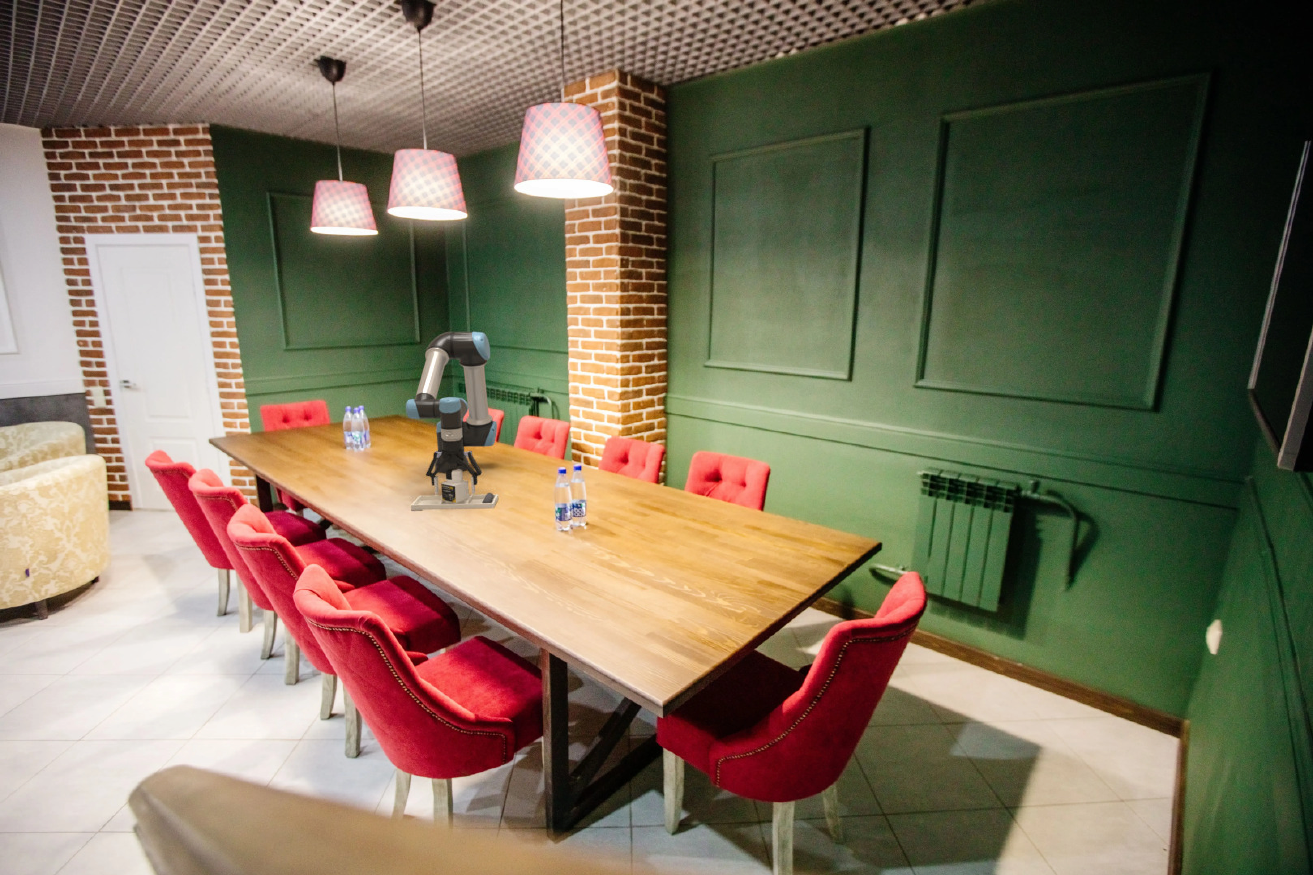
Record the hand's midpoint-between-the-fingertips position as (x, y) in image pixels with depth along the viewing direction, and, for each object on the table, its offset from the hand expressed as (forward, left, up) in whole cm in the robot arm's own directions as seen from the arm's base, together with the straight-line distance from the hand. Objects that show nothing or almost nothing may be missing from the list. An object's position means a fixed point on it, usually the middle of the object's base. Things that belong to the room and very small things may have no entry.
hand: (455, 493), depth 242 cm
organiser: (0, 0, -5) cm, 5 cm away
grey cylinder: (0, +11, -3) cm, 11 cm away
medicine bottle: (0, 0, -3) cm, 3 cm away
